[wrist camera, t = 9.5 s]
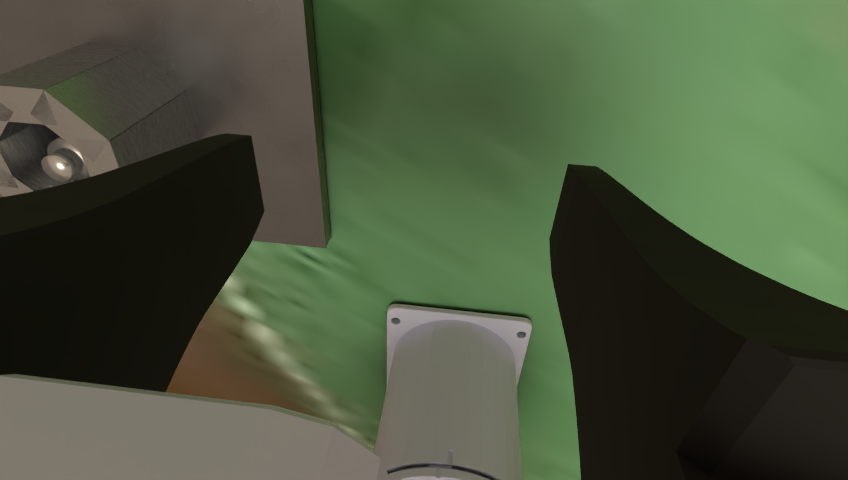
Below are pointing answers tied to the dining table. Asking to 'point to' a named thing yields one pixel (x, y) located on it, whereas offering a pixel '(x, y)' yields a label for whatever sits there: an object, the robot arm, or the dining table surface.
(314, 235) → the shaft block
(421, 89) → the dining table surface
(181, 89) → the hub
